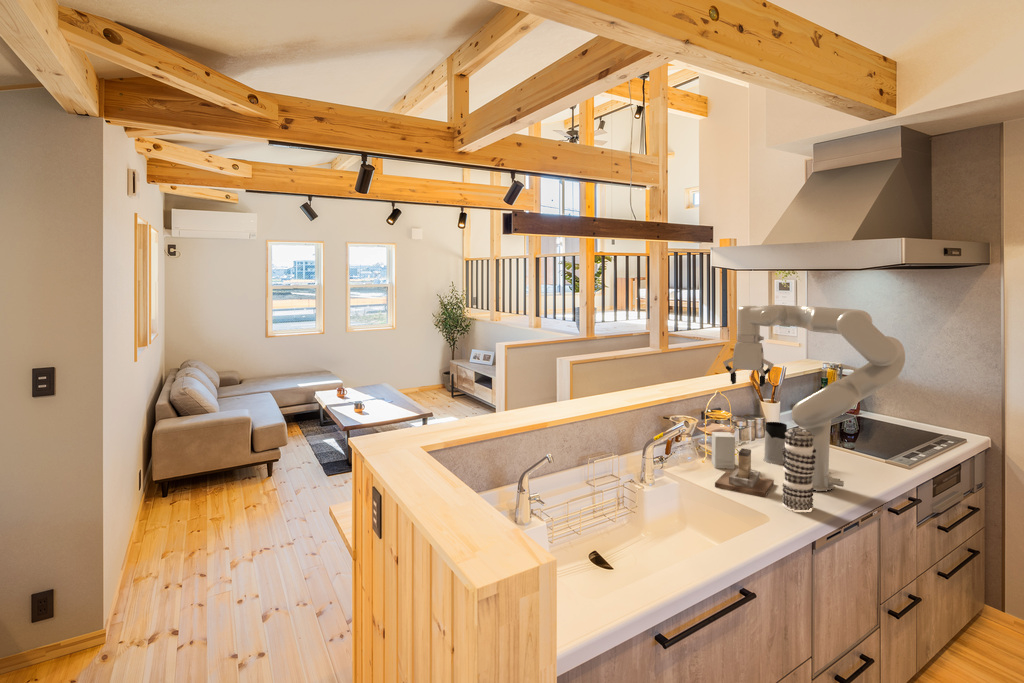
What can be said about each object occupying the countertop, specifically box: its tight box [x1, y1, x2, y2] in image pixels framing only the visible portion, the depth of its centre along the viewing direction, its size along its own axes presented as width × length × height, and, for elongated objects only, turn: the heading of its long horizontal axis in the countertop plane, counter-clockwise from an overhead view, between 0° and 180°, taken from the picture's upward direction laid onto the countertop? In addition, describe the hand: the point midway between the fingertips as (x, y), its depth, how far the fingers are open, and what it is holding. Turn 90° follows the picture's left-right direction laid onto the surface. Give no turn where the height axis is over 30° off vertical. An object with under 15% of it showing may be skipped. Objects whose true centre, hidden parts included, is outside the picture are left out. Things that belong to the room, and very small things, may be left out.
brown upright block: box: [737, 448, 752, 479], centre depth 177 cm, size 3×5×11 cm, turn 144°
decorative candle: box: [781, 427, 816, 510], centre depth 158 cm, size 9×9×25 cm
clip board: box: [714, 467, 775, 498], centre depth 178 cm, size 16×14×4 cm
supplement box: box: [711, 431, 736, 470], centre depth 198 cm, size 7×7×13 cm
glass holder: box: [762, 421, 788, 465], centre depth 201 cm, size 9×14×15 cm, turn 70°
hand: (747, 384), depth 188 cm, fingers open, 9 cm apart
